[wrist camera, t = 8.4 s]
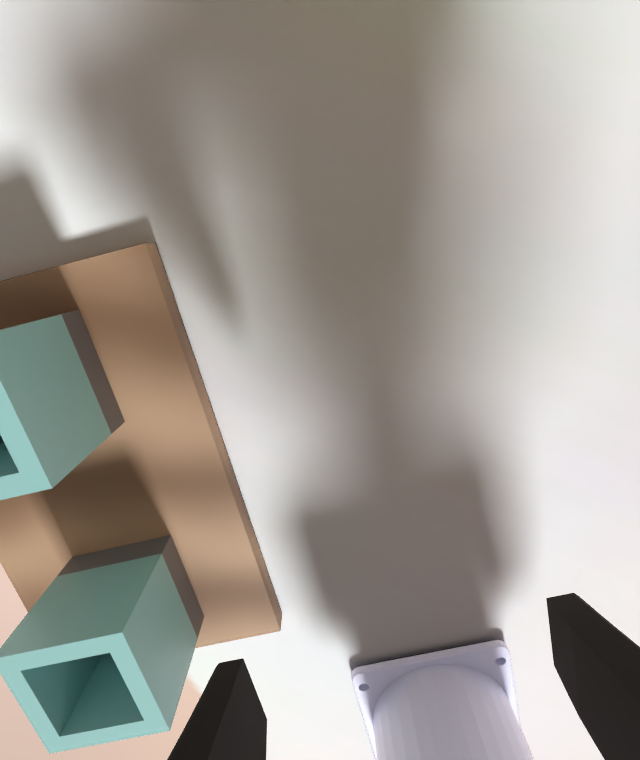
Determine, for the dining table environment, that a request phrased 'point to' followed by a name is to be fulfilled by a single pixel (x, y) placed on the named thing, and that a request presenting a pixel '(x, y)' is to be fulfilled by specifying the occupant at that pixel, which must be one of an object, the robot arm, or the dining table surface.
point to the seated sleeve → (106, 647)
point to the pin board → (139, 451)
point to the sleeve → (50, 402)
